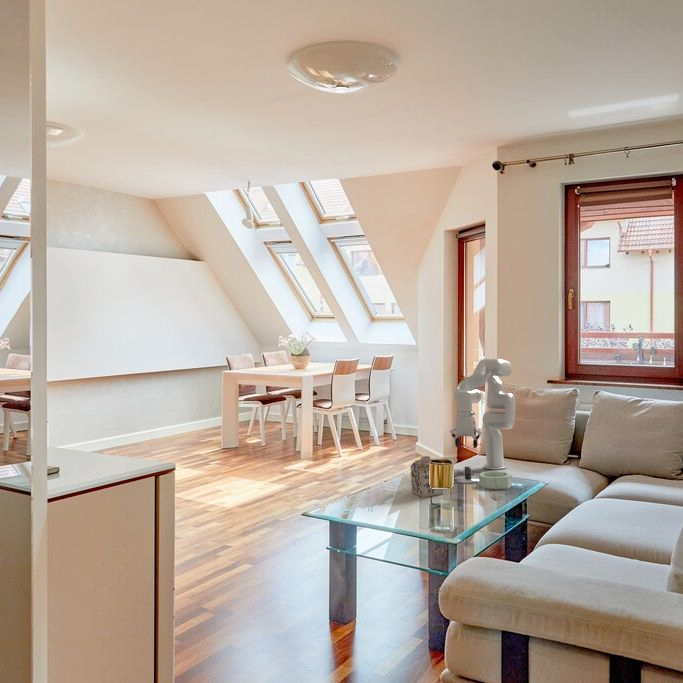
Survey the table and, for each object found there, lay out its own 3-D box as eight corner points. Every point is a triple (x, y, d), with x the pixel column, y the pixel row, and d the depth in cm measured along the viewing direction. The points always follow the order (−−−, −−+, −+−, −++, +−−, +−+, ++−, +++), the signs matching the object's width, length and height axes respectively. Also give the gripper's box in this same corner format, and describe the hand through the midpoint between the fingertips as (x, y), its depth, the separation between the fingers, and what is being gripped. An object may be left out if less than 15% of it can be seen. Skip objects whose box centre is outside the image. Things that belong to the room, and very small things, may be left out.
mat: (459, 476, 364) (459, 475, 364) (489, 479, 355) (489, 477, 355) (446, 483, 350) (446, 482, 350) (477, 486, 340) (477, 484, 340)
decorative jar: (431, 489, 337) (430, 453, 337) (444, 494, 327) (442, 457, 326) (410, 493, 333) (409, 456, 333) (422, 497, 322) (420, 460, 322)
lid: (460, 475, 363) (459, 463, 363) (487, 478, 354) (487, 465, 354) (448, 482, 350) (447, 468, 350) (476, 484, 341) (476, 470, 341)
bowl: (486, 482, 348) (486, 470, 348) (514, 484, 340) (514, 472, 340) (475, 488, 336) (475, 476, 336) (504, 490, 328) (504, 478, 328)
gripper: (483, 413, 350) (484, 446, 350) (452, 413, 360) (453, 445, 360) (478, 415, 344) (479, 449, 344) (446, 414, 353) (448, 447, 353)
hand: (466, 447), depth 352 cm, fingers open, 9 cm apart
